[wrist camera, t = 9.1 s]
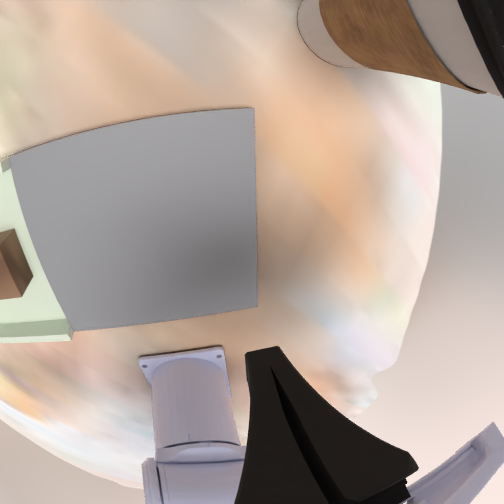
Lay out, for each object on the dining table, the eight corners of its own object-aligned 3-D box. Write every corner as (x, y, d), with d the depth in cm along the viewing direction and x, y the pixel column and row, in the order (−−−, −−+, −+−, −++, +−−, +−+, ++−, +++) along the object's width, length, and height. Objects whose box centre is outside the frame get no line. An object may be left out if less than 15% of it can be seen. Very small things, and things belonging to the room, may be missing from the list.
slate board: (253, 296, 22) (257, 306, 21) (76, 321, 19) (73, 331, 18) (249, 107, 15) (254, 108, 14) (17, 153, 12) (8, 157, 11)
